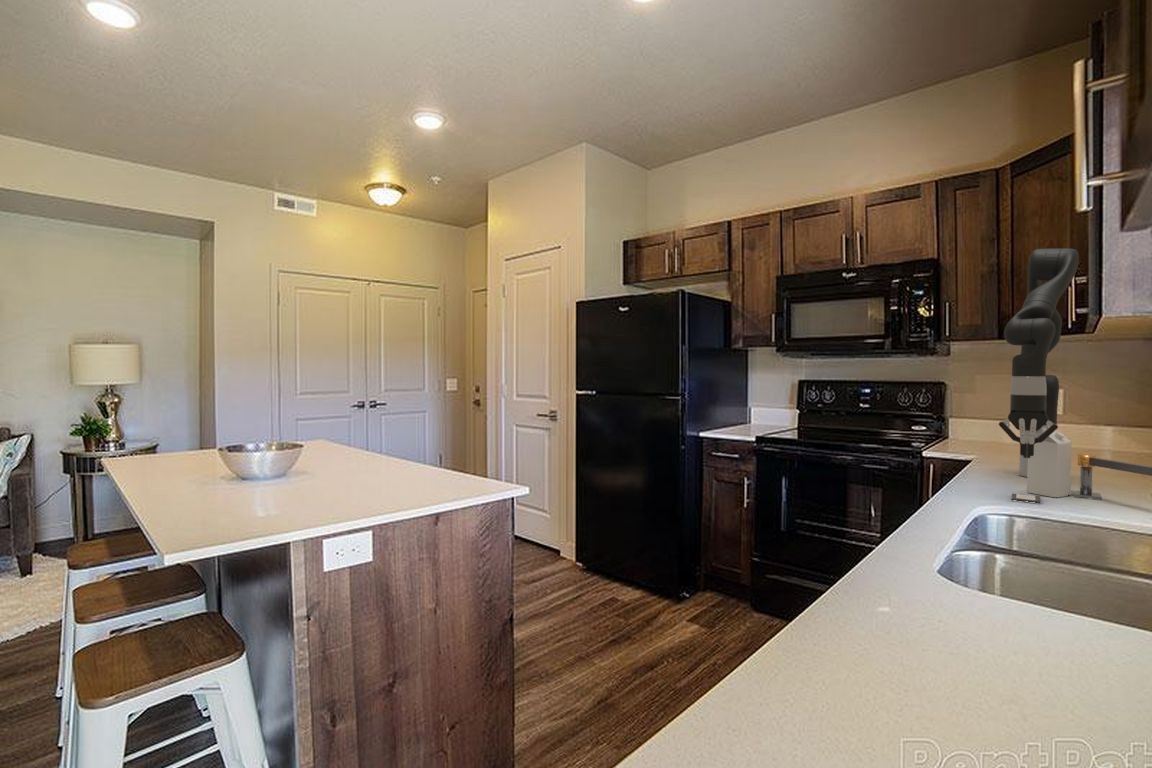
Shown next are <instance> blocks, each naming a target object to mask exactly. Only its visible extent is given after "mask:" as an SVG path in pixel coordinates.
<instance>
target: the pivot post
mask: <svg viewBox="0 0 1152 768" xmlns="http://www.w3.org/2000/svg"><path fill="white" fill-rule="evenodd" d="M1079 478H1080V480H1079V482H1080V483H1079V484H1080V485H1079V486H1080V487H1079V490H1072V489H1070V496H1071V497H1072V496H1075V497H1074V498H1078V497H1084V498H1083V499H1088V498H1092V499H1091V500H1097V499H1101V500H1100V501H1102V500H1103V497H1102V495H1101V493H1100V492H1093V489H1092V488H1093V467H1090V466H1080V477H1079Z"/></svg>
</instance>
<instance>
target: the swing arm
mask: <svg viewBox="0 0 1152 768" xmlns="http://www.w3.org/2000/svg"><path fill="white" fill-rule="evenodd" d="M1077 466H1080V467H1081V466H1088V467H1092V468H1093V467H1099V468H1105V469H1110V470H1115V471H1122V472H1127V473H1133V474H1139V475H1144V476H1149V477H1150V476H1151V477H1152V466H1150V465H1146V464H1145V465H1144V464H1137V463H1130V462H1124V461H1119V460H1112V459H1107V458H1100V457H1096V455H1093V454H1086V453H1085V454H1083V453H1081V454H1080V453H1079V454H1077Z"/></svg>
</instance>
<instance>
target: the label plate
mask: <svg viewBox="0 0 1152 768" xmlns="http://www.w3.org/2000/svg"><path fill="white" fill-rule="evenodd" d="M1011 500H1017V501H1016V502H1018V501H1028V502H1035V503H1041V495H1033V494H1032V495H1031V494H1021V493H1013V492H1012V493H1011ZM1035 503H1034V504H1035Z"/></svg>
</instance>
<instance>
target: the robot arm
mask: <svg viewBox="0 0 1152 768" xmlns="http://www.w3.org/2000/svg"><path fill="white" fill-rule="evenodd" d="M1079 257H1080V255H1079V252H1078V251H1077V250H1076V249H1074V248H1067V247H1065V248H1035V250H1033V251H1032V252H1031V254H1030V256H1029V259H1028V264H1027V265H1028V266H1027V285H1026V286H1027V287H1026V288H1027V289H1026V290H1027V292H1026V297H1025V300H1024V301H1023V304H1022V307H1021V309H1020V310H1019V311H1018V312H1017V313H1016V314H1015V315H1014V316H1012V317H1011V319H1009V321H1008V322H1007V324H1006V326H1005V327H1004V330H1003V336H1004V340H1005V342H1007V343H1008V344H1009V345H1011V346H1012V345H1013V346H1021V347H1020V348H1021V350H1020V351H1021V352H1020V354H1016V355H1015V356H1013V358H1012V360H1011V361H1012V363H1011V364H1012V365H1011V382H1010V391H1009V392H1010V400H1009V401H1010V404H1009V405H1010V407H1009V414H1008V416H1007V418H1006V419H1004V420H1002V421H999V423H998V426H999V427H1000V428H1001V430H1003V431H1004V432H1005V433H1006V434H1007V435H1008V437H1009V438H1010V439H1011V441H1013V442H1017V443H1019V465H1018V466H1019V467H1018V469H1019V470H1018V471H1019V472H1018V473H1019V476H1021V477H1025V478H1027V469H1028V458H1030V456H1033V455H1034V444H1035V443H1041V442H1043V441H1044V440H1045V439H1046V438H1047V437H1048V436H1049V435H1050V434H1052V433H1053V432H1054V431H1055V430H1056V429H1057V430H1058V428H1059V425H1058V421H1057V420H1058V407H1059V406H1058V405H1059V404H1058V403H1059V395H1060V381H1059V379H1058V377H1057V376H1056V375H1054V374H1046V373H1047V372H1046V371H1047V370H1046V368H1047V367H1046V366H1047V357H1048V354H1049V353H1050V352H1051V351H1052V350H1053V349H1055V347H1056V346H1057V345H1058V343H1059V341H1060V339H1061V334H1062V328H1063V327H1062V326H1063V319H1062V317H1061V314H1060V313H1059V311H1058V310H1057V308H1056V307H1057V305H1058V302H1059V301H1060V300H1059V299H1060V298H1061V297H1062V296H1063V294H1064V292H1065V291H1066V290H1067V288H1068V286H1069V285H1070V283H1071V282H1072V280H1073V278H1074V277H1075V276H1076V273H1077V271H1078V266H1079V262H1080V261H1079V260H1080V258H1079ZM1043 281H1046V282H1045V283H1043ZM1010 423H1011V424H1012V426H1014V428H1015V429H1016V430H1018V431H1019V436H1018V435H1016V434H1015V433H1014V431H1013V430H1011V428H1010V427H1011V424H1010ZM1043 427H1046V429H1047V430H1046V431H1045V432H1044V433H1042V434H1041V435H1040V436H1039V437H1038V438H1035V436H1036V435H1037V434H1039V433H1041V432H1042V428H1043Z"/></svg>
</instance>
